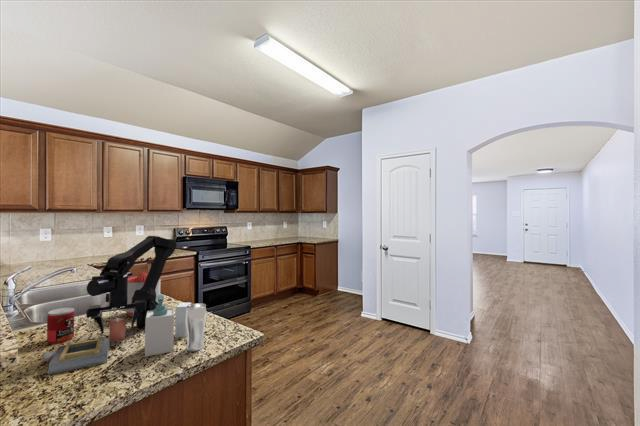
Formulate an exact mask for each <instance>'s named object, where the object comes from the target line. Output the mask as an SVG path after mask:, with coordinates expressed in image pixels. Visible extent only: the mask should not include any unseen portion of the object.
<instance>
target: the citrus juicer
mask: <svg viewBox="0 0 640 426" xmlns="http://www.w3.org/2000/svg"><path fill="white" fill-rule="evenodd" d="M147 275H148V273H146V272H144V271H142V272H141V273H140V274H139V275H138V276H129V277H128V290H127V296H128V299H127V304H131V302H132V297H133V296H134V292H135V291H136V290H140V289H141V288H142V287H143V285H144V283H145V280H146V278H147ZM161 278H162V277H161V276H160V278H159V281H158V283H157V286H156V289H155V291H156V300H155V301H156V302H157V303H158V304H159V302H158V295H159V294H161V282H162V281H161ZM133 311H134V309H133V308H131V309H125V312H126V314H127V316H129V317H133Z"/></svg>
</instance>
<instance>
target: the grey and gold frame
mask: <svg viewBox="0 0 640 426" xmlns="http://www.w3.org/2000/svg"><path fill="white" fill-rule="evenodd" d="M110 343H111V342H110V338H109V337H105V338H103V337H102V336H101V337H98V338H97V339H90V340H86V341H79V342H78V341H77V342H73V343H72V342H67V343H66V344H65V345H61V346H60V345H59V346H58V347H57V349H56V350H55V351H47V352H43V354H42V362H45V361H46V362H47V361H50V362H49V363H48V375H53V374H58V373H62V372H68V371H71V370H72V371H73V370H78V369H81V368H87V367H91V366H96V365H101V364H105V363H108V360H109V352H110V345H111V344H110Z"/></svg>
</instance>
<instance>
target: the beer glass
mask: <svg viewBox="0 0 640 426" xmlns="http://www.w3.org/2000/svg"><path fill="white" fill-rule="evenodd" d="M206 306H207V304H206V303H200V302H199V303H191V304H190V305H188V306H187V307H186V316H185V323H186V330H187V336H186V338H187V339H186V341H187V342H186V346H185V350H186V351H188V352H197V351H200V350H202V349H204V348H205V342H204V341H205V340H204V334H205V328H206V323H207V307H206Z"/></svg>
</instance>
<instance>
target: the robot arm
mask: <svg viewBox="0 0 640 426" xmlns="http://www.w3.org/2000/svg"><path fill="white" fill-rule="evenodd" d="M176 248H177V242H176V240H175V239H173V238H164V237H161V236H158V235H148V236H146V237H145V239H143V240H141V241H140V242H138V243H137V244H135V245H134V246H133V247H131V248H130V249H128V250H126V251H124V252H122V253H118V254H114V255H113V256H111V257H109V258H108V259H107V263H106V264H105V265H104V267H103V269H101V271H100V273H99V275H94V276H92V277H91V280H90V281H89V282H88V283H87V285H86V292H87V293H88V295H89V296H91V297H97V296H101V295H103V294H105V303H108V306H102V304H95V305H89V306H88V307H87V310H86V316H85V317H86V318H90V319H91V320H94V321H95V323H96V324H97V325H98V327H99V330H100V332H101V333H102V334H104V330H105V329H104V320H103V319H104V317H103V313H107V312H113V311H121V310H126V309H131V308H133V309H134V311H133V317H132V316H131V317H132V319H131V323H130V324H131V325H130V326H131V327H130V328H131V329H133V327H134V325H135V323H136V325H135V326H136V328H137V329H138V330H141V329H145V322H146V315H147V311H153V310H154V309H156V306H157V305H159V304H158V303H157V302H156V301H155V300H156V291H155V289H156V286H157V283H158V281H159V278H160V276H161V275H162V273H163V270H164V268H165V265H166V262H167V259H168V258H170V257H171V256H172V255H173V254H174V252H175V250H176ZM152 249H154V250H153V251H154V258H153V260H152V263H151V266H150V268H149V271H148V273H147V278H146V280H145V283H144V285H143V287H142V288H141V289H140V290H136V291H135V292H134V296H133V297H132V302H131V304H127V299H128V296H127V290H128V278H129V277H133V273H132V272H130V269H132V268H133V266H134V265H135V263H136V261H137V260H138V259H139V258H141V257H142V256H143V255H145V254H146V253H147V252H149V251H151V250H152Z"/></svg>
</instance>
